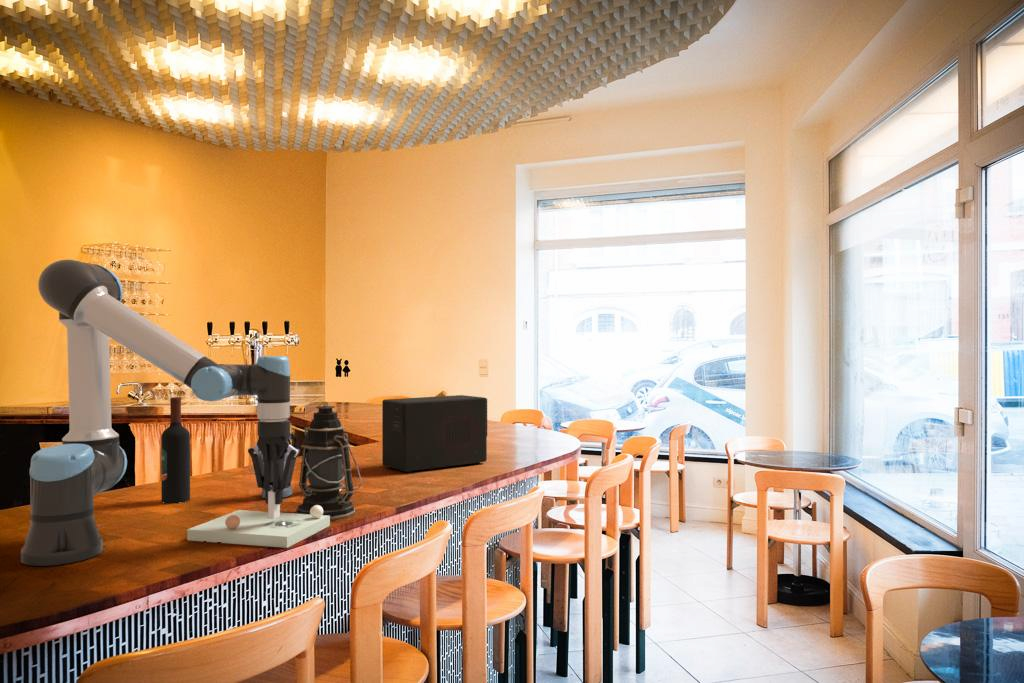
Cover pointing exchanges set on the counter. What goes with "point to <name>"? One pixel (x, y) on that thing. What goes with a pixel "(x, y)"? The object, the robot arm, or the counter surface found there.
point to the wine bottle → (175, 458)
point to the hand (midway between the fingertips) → (274, 517)
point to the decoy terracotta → (232, 522)
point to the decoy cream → (316, 511)
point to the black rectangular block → (434, 432)
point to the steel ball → (280, 523)
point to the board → (259, 529)
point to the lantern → (326, 466)
